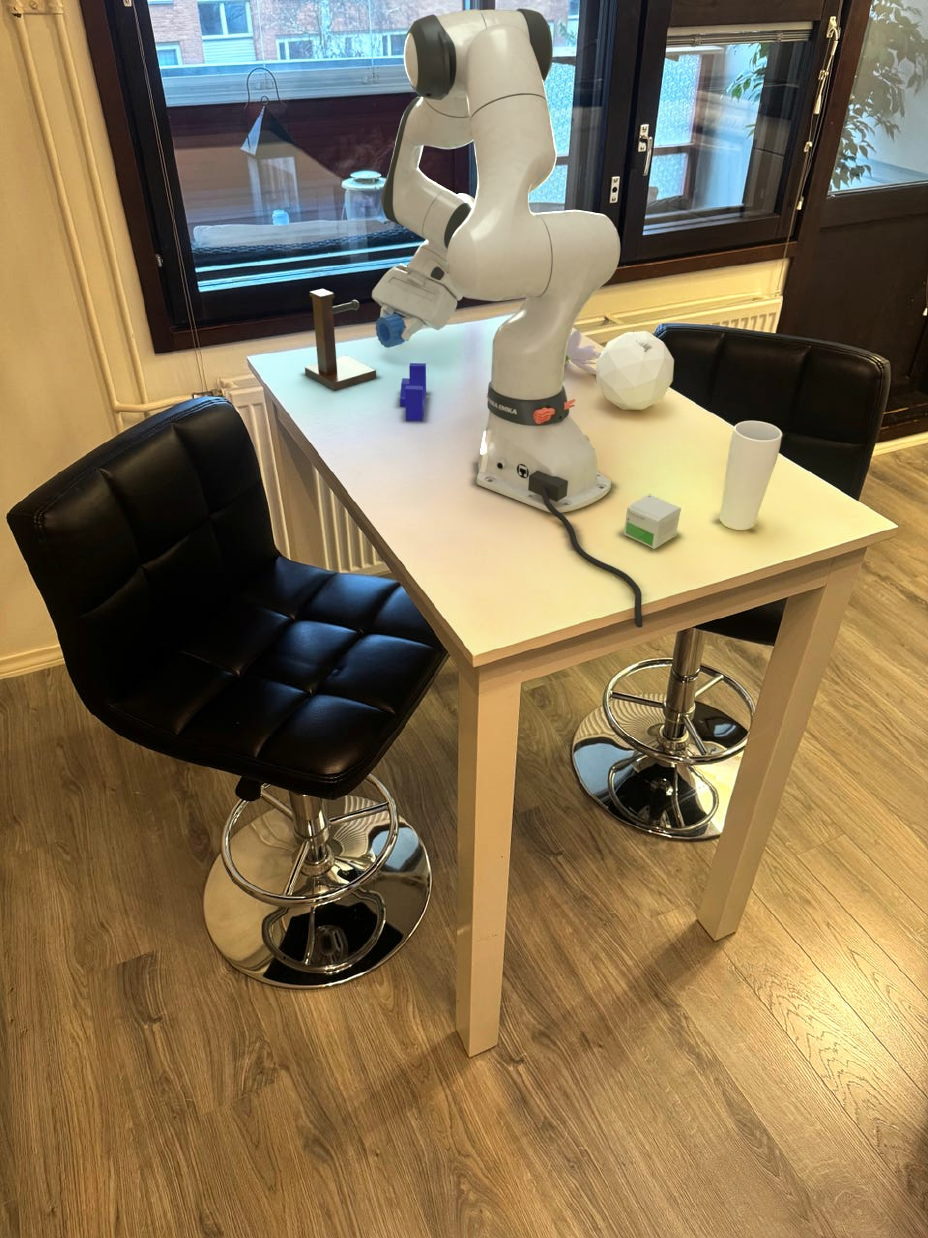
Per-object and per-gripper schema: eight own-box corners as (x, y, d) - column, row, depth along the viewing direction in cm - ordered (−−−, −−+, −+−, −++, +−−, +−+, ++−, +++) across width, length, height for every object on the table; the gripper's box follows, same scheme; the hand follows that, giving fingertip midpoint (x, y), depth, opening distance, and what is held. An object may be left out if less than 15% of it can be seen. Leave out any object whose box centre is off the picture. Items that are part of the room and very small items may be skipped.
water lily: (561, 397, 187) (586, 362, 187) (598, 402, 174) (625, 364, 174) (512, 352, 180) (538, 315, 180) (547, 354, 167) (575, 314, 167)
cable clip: (402, 393, 171) (401, 362, 167) (426, 393, 171) (426, 363, 167) (397, 420, 161) (396, 388, 158) (422, 421, 161) (422, 389, 158)
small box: (622, 535, 132) (626, 505, 129) (645, 521, 135) (650, 492, 132) (654, 550, 129) (659, 521, 126) (677, 536, 132) (682, 506, 129)
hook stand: (347, 362, 183) (342, 277, 172) (377, 377, 177) (373, 290, 167) (305, 374, 177) (297, 287, 167) (334, 390, 171) (327, 301, 161)
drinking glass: (726, 506, 139) (746, 415, 130) (767, 521, 136) (791, 429, 127) (705, 523, 135) (725, 431, 126) (747, 539, 131) (770, 445, 122)
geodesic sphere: (700, 392, 159) (684, 311, 158) (629, 403, 155) (612, 320, 154) (657, 413, 173) (642, 339, 173) (591, 424, 169) (575, 348, 168)
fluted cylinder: (389, 339, 185) (388, 309, 181) (407, 347, 181) (406, 317, 177) (375, 342, 183) (374, 313, 179) (394, 351, 179) (393, 321, 176)
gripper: (387, 252, 183) (351, 310, 184) (453, 277, 171) (414, 339, 172) (405, 271, 188) (369, 327, 189) (470, 296, 176) (432, 356, 177)
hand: (391, 333), depth 180 cm, fingers closed on fluted cylinder, 6 cm apart
